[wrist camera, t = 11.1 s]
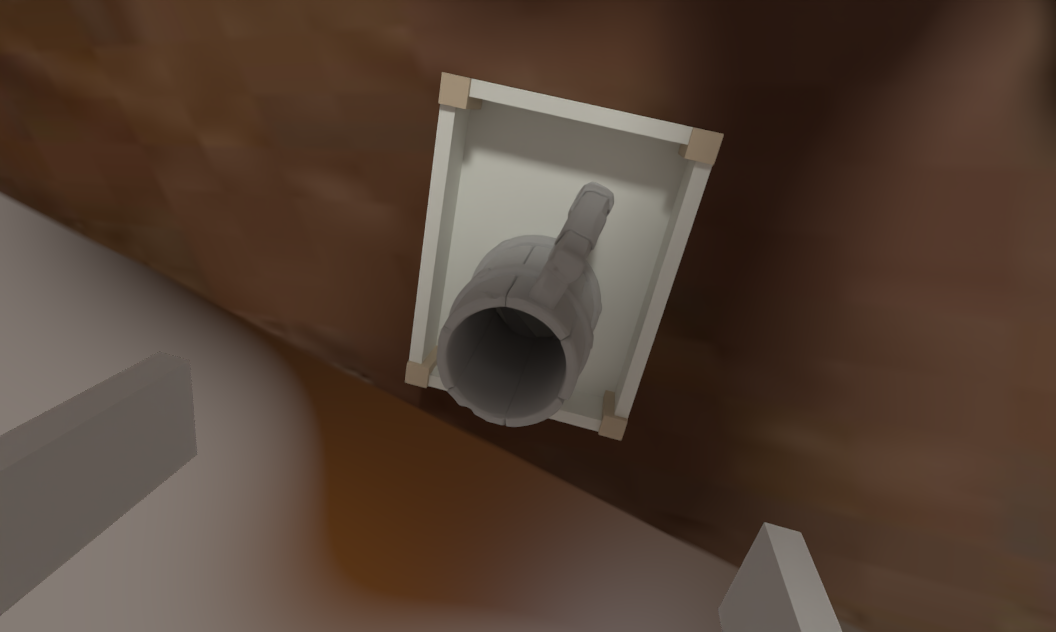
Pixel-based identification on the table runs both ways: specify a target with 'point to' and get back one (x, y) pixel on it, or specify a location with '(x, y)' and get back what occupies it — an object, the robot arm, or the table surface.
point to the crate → (560, 221)
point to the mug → (513, 349)
